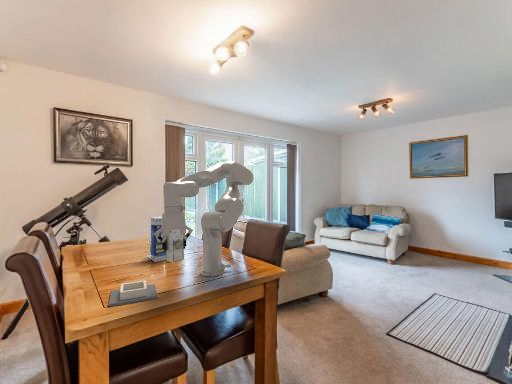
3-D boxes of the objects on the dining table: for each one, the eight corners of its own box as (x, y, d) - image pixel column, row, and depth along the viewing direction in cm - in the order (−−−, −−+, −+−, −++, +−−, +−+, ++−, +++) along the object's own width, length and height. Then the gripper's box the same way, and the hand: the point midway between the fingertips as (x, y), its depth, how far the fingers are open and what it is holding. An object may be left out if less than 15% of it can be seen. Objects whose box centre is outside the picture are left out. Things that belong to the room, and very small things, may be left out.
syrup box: (176, 257, 122) (175, 226, 121) (184, 259, 119) (183, 227, 118) (165, 260, 118) (164, 228, 117) (173, 263, 114) (171, 229, 113)
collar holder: (154, 286, 118) (154, 277, 118) (157, 298, 106) (157, 288, 106) (111, 292, 111) (111, 283, 111) (108, 307, 98) (108, 296, 98)
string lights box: (154, 262, 154) (154, 218, 154) (150, 259, 160) (150, 217, 159) (176, 258, 163) (176, 216, 162) (171, 255, 169) (171, 215, 168)
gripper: (191, 207, 124) (192, 245, 125) (151, 210, 117) (153, 249, 118) (194, 209, 117) (196, 248, 118) (152, 212, 110) (154, 254, 111)
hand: (174, 249), depth 118 cm, fingers closed on syrup box, 7 cm apart
